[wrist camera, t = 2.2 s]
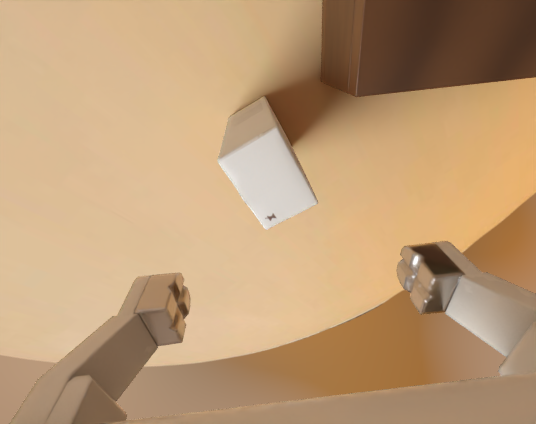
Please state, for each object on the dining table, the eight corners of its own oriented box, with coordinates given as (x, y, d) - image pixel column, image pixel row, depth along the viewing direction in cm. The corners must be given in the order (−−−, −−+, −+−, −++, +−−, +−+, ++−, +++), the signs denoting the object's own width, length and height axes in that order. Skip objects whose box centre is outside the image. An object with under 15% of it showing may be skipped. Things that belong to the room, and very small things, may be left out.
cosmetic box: (293, 147, 27) (321, 205, 17) (257, 166, 28) (265, 233, 18) (264, 92, 24) (278, 124, 14) (226, 116, 25) (213, 162, 15)
